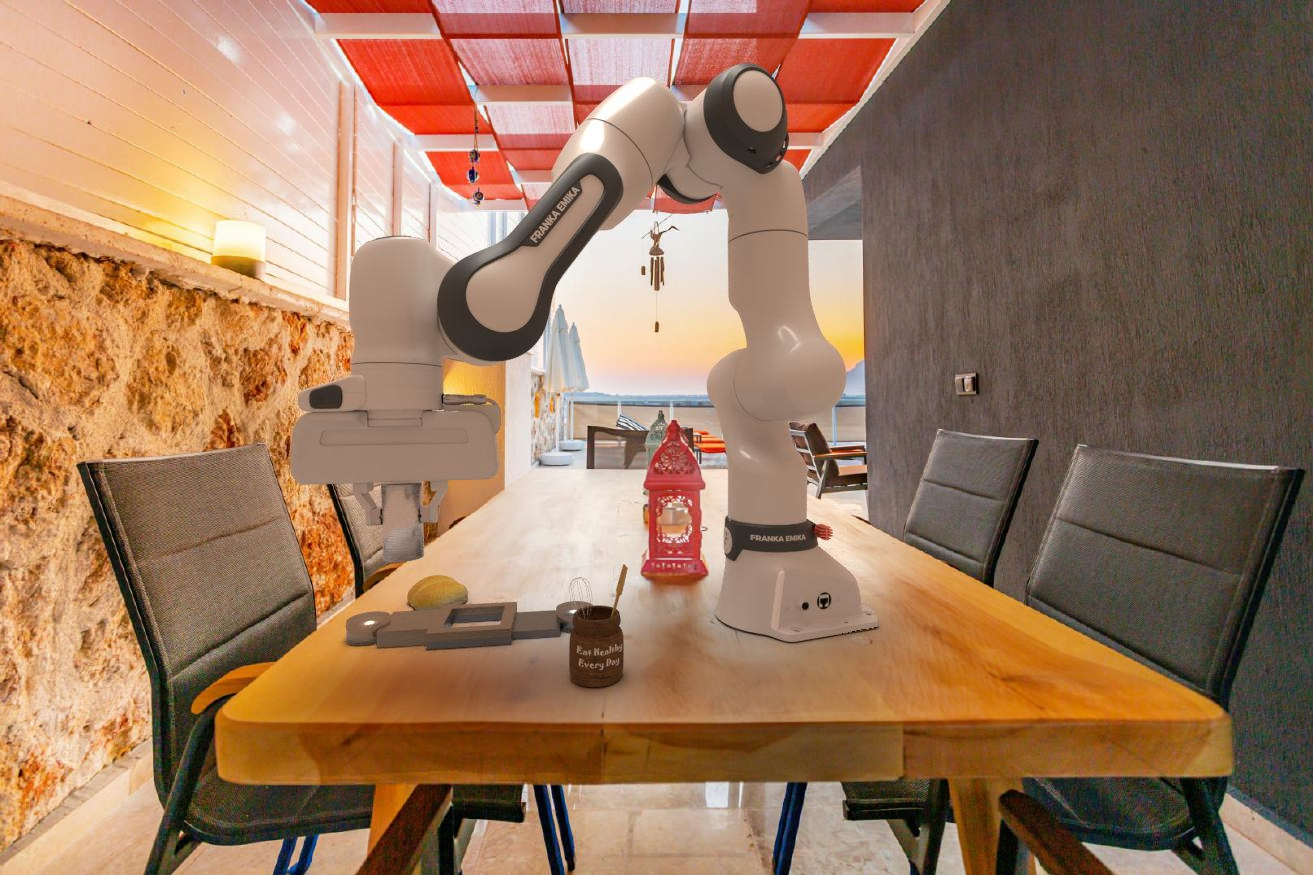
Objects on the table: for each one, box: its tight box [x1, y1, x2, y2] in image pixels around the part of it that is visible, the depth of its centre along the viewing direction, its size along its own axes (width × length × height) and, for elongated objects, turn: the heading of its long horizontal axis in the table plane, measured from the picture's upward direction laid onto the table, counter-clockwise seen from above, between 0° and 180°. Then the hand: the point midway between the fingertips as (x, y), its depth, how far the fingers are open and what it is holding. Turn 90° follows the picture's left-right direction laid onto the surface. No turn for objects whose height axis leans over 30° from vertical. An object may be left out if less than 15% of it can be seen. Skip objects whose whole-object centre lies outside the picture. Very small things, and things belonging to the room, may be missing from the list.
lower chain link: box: [425, 600, 594, 651], centre depth 72 cm, size 20×10×2 cm, turn 100°
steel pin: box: [380, 481, 425, 563], centre depth 58 cm, size 4×4×8 cm
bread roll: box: [406, 574, 469, 611], centre depth 82 cm, size 8×9×4 cm
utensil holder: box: [568, 563, 629, 688], centre depth 59 cm, size 6×6×12 cm
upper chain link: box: [345, 601, 518, 649], centre depth 70 cm, size 20×10×2 cm, turn 100°
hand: (402, 523), depth 58 cm, fingers closed on steel pin, 4 cm apart
